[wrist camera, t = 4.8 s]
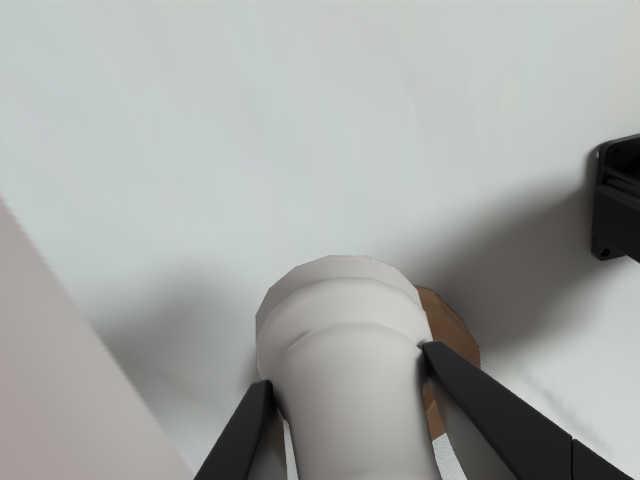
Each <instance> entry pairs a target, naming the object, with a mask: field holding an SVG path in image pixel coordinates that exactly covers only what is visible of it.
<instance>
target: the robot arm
mask: <svg viewBox="0 0 640 480" xmlns="http://www.w3.org/2000/svg"><path fill="white" fill-rule="evenodd" d="M612 149H615V150H614V152H613V154H612V155H610V152H611V151H612ZM592 233H593V234H592V247H591V253H592V255H593V256H594V257H595V258H597V259H598V260H601V261H605V260H609V259H613V258H617V257H622V256H626V255H627V256H629V257H630V258H632V259H633V260H635V261H637V262H638V263H640V134H636V135H632V136H628V137H624V138H619V139H615V140H611V141H608V142H606V143H605V144H604V145H603V146H602V147H601V149H600V151H599V158H598V170H597V183H596V190H595V198H594V211H593V224H592ZM603 249H605V250H604V251H603V252H601V251H602V250H603ZM422 352H423V355H424V358H425V362H426V365H427V368H428V373H429V378H428V382H429V385H430V388H431V390H432V393H433V396H434V399H435V402H436V405H437V408H438V411H439V413H440V416H441V419H442V422H443V425H444V428H445V431H446V433H447V436H448V439H449V441H450V444H451V446H452V448H453V451H454V453H455V455H456V457H457V459H458V461H459V463H460V466H461V468H462V470H463V472H464V474H465V476H466V478H467V480H634V479H633V478H631V477H629V476H628V475H626V474H625V473H623V472H622V471H620V470H619V469H618V468H616V467H615V466H613V465H612V464H610V463H609V462H608V461H606V460H605V459H603V458H602V457H600V456H599V455H597V454H596V453H595V452H593V451H592V450H591V449H589V448H588V447H586V446H585V445H584V444H582V443H581V442H580V441H578V440H577V439H573V441H572V436H571V435H570V434H568V433H567V432H566V431H564V430H563V429H562V428H560V427H559V426H558V425H556V424H555V423H553V422H552V421H551V420H549V419H548V418H547V417H545V416H544V415H542V414H541V413H540V412H538V411H537V410H536V409H534V408H533V407H532V406H530V405H529V404H527V403H526V402H525V401H523V400H522V399H521V398H519V397H518V396H516V395H515V394H514V393H512V392H511V391H510V390H508V389H507V388H506V387H504V386H503V385H501V384H500V383H499V382H497V381H496V380H495V379H493V378H492V377H491V376H489V375H488V374H486V373H485V372H484V371H482V370H481V369H480V368H478V367H477V366H475V365H474V364H473V363H471V362H470V361H469V360H467V359H466V358H465V357H463V356H462V355H460V354H459V353H458V352H456V351H455V350H454V349H452V348H451V347H449V346H448V345H447V344H445V343H444V342H443V341H441V340H434V341H429V342H425V343H423V344H422ZM194 480H287V465H286V453H285V441H284V429H283V418H282V414H281V413H280V411H279V409H278V407H277V406H276V404H275V401H274V399H273V384H272V382H271V380H269V379H265V380H261V381H257V382H254V383H252V384H251V385H250V387H249V389H248V390H247V392H246V394H245V395H244V397H243V399H242V400H241V402H240V404H239V405H238V407H237V409H236V410H235V412H234V414H233V415H232V417H231V418H230V420H229V422H228V423H227V425H226V427H225V428H224V430H223V432H222V433H221V435H220V437H219V438H218V440H217V442H216V443H215V445H214V447H213V448H212V450H211V452H210V453H209V455H208V457H207V458H206V460H205V461H204V463H203V465H202V466H201V468H200V470H199V471H198V473H197V475H196V476H195V478H194Z"/></svg>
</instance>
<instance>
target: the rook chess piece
mask: <svg viewBox="0 0 640 480" xmlns="http://www.w3.org/2000/svg"><path fill="white" fill-rule="evenodd" d="M429 341H433V338H432V334H431V331H430V327H429V324H428V320H427V316H426V313H425V311H424V310H423V309H422V305H421V302H420V298H419V295H418V291H417V289H416V288H415V287H414V286H413V285H412V284H411V283H410V282H409V281H408V280H407V279H406V278H405V277H404V276H403V275H402V273H401V272H400V271H399V270H398V269H397V268H394V267H392V266H389V265H387V264H385V263H382V262H380V261H377V260H375V259H372V258H370V257H367V256H342V255H329V256H326V257H323V258H320V259H317V260H314V261H312V262H309V263H306V264H303V265H300V266H297V267H295V268H294V269H292V270H291V271H290V272H289V273H287V274H286V275H285V276H284V277H283V278H281V279H280V280H279V281H278V282H277V283H275V284H274V285H273V286H272V287H271V288H269V290H268V292H267V294H266V296H265V298H264V300H263V302H262V304H261V306H260V308H259V310H258V312H257V314H256V365H257V370H258V373H259V376H260V378H261V380H265V379H269V380H271V382H272V384H273V399H274V401H275V404H276V406H277V407H278V409H279V411H280V413H281V414H282V416H283V418H284V420H286V421H287V422H288V424H289V428H290V433H291V439H292V445H293V451H294V456H295V462H296V468H297V474H298V479H299V480H442V477H441V474H440V471H439V469H438V466H437V463H436V459H435V455H434V450H433V445H432V440H431V435H430V431H429V426H428V421H427V416H426V411H425V406H424V395H425V391H426V387H427V382H428V378H429V373H428V368H427V365H426V362H425V358H424V355H423V352H422V344H423V343H425V342H429Z"/></svg>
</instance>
